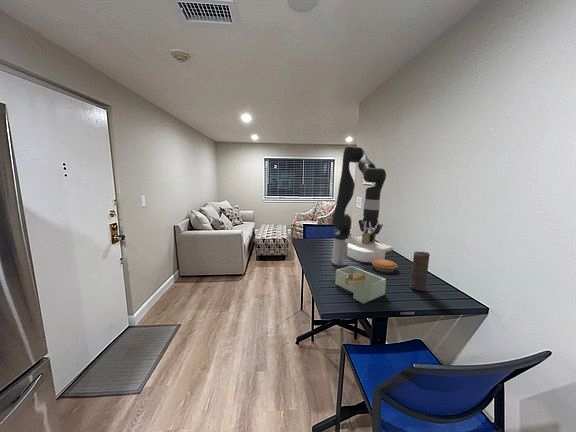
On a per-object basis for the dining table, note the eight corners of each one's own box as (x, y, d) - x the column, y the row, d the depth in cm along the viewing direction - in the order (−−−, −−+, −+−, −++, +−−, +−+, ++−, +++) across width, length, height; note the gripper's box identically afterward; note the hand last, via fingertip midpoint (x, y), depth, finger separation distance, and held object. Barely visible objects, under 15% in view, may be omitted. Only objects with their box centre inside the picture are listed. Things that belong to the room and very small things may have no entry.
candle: (424, 293, 127) (429, 255, 124) (408, 290, 131) (412, 252, 128) (425, 288, 134) (430, 251, 131) (410, 284, 138) (414, 249, 134)
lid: (345, 241, 138) (345, 230, 136) (358, 239, 144) (359, 228, 143) (379, 253, 120) (380, 240, 119) (392, 249, 126) (394, 237, 125)
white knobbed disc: (339, 253, 191) (341, 232, 189) (364, 249, 203) (366, 229, 200) (363, 264, 169) (365, 240, 167) (389, 259, 181) (392, 237, 178)
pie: (395, 266, 166) (395, 259, 165) (399, 275, 151) (399, 267, 150) (370, 263, 170) (371, 256, 169) (372, 272, 155) (372, 264, 154)
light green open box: (329, 285, 134) (330, 268, 132) (350, 279, 143) (351, 262, 142) (363, 303, 116) (365, 283, 115) (384, 294, 126) (386, 276, 124)
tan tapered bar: (345, 283, 113) (345, 273, 113) (359, 278, 119) (360, 269, 118) (350, 285, 111) (351, 276, 110) (364, 280, 117) (365, 271, 116)
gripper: (388, 209, 125) (384, 243, 128) (365, 205, 136) (362, 237, 139) (378, 210, 121) (375, 245, 124) (355, 206, 132) (353, 238, 135)
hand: (368, 240), depth 132 cm, fingers closed on lid, 3 cm apart
